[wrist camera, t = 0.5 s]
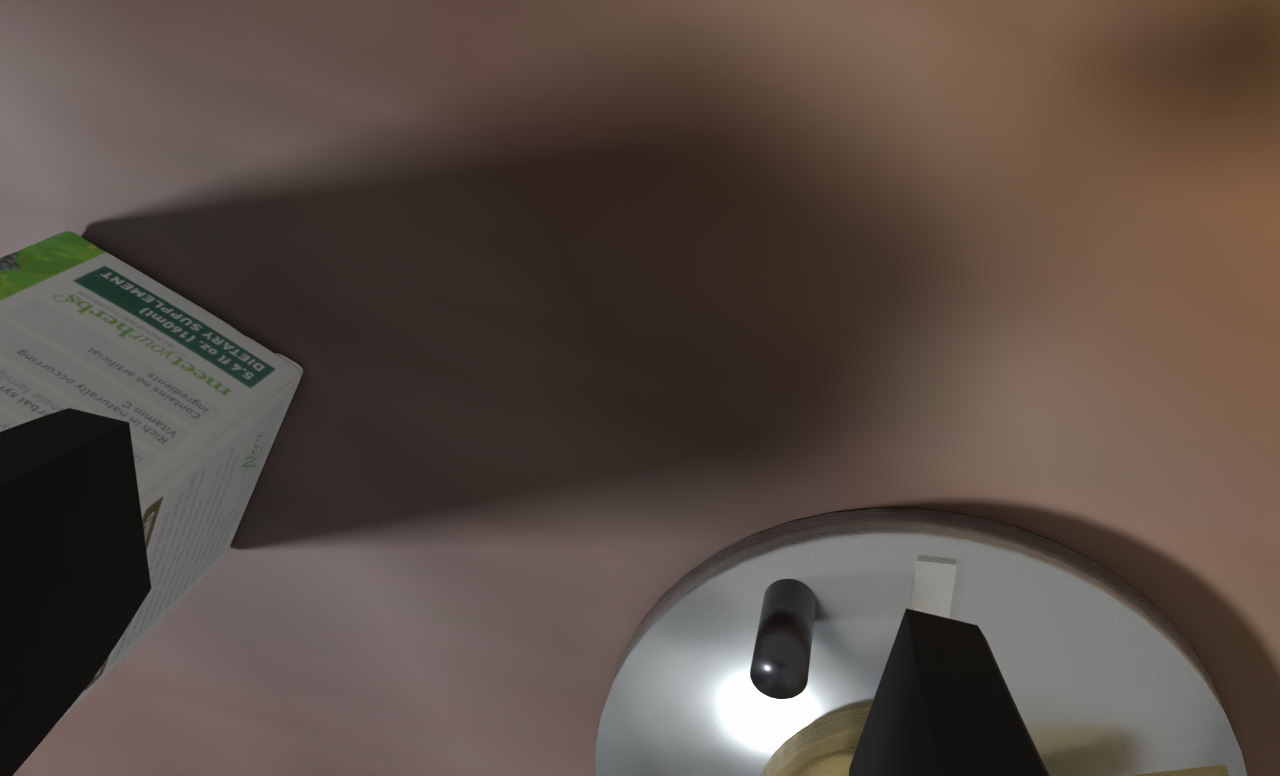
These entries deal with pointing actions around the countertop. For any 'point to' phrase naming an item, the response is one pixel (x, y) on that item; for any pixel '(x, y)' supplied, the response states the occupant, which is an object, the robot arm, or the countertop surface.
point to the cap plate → (866, 630)
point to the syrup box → (145, 400)
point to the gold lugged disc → (822, 751)
